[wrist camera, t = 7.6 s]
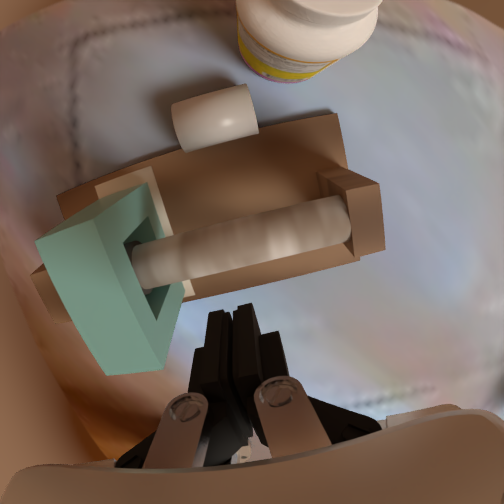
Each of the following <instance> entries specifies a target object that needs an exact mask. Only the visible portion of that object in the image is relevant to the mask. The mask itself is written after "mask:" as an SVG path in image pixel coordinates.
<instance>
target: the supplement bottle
mask: <svg viewBox="0 0 504 504" xmlns="http://www.w3.org/2000/svg"><path fill="white" fill-rule="evenodd" d="M382 1H383V0H236V11H237V31H238V45H239V50H240V53H241V56H242V58H243V60H244V61H245V63H246V64H247V65H248V67H250V68H251V69H252V70H253V71H254V72H255V73H256V74H258V75H259V76H261V77H263V78H265V79H267V80H270V81H273V82H277V83H285V84H290V83H298V82H302V81H305V80H308V79H310V78H312V77H313V76H315V75H317V74H318V73H320V72H321V71H323V70H324V69H326V68H327V67H329V66H330V65H332V64H334V63H335V62H337V61H338V60H340V59H342V58H343V57H345V56H347V55H349V54H350V53H352V52H354V51H355V50H357V49H358V48H360V47H361V46H362V45H363V44H364V43H365V42H366V41H367V40H368V39H369V37H370V36H371V34H372V32H373V30H374V28H375V25H376V22H377V16H378V6H379V5H380V3H381V2H382Z"/></svg>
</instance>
